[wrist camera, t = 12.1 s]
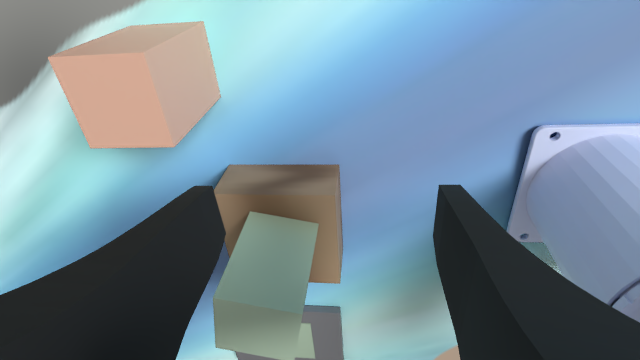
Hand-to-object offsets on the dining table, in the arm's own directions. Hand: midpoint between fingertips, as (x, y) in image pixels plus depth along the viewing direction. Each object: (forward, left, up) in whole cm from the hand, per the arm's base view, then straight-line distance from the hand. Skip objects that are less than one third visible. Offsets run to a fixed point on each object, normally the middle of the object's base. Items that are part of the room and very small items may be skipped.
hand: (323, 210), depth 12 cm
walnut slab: (+4, +8, -10) cm, 13 cm away
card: (+6, +22, -10) cm, 25 cm away
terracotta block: (+9, -2, -10) cm, 14 cm away
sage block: (+4, +8, -7) cm, 11 cm away
